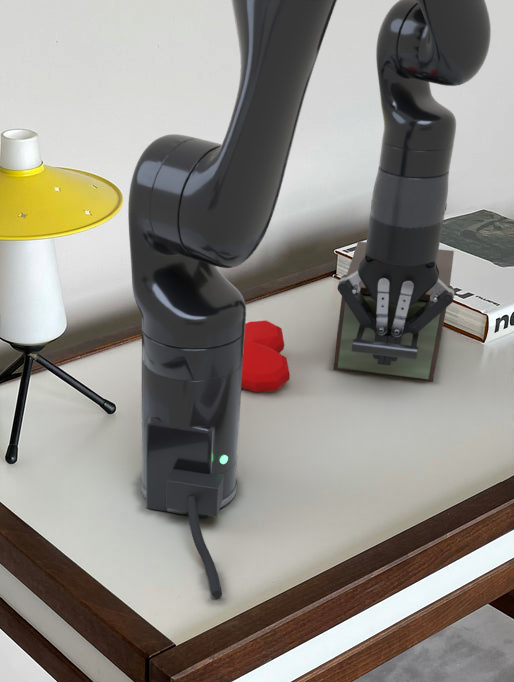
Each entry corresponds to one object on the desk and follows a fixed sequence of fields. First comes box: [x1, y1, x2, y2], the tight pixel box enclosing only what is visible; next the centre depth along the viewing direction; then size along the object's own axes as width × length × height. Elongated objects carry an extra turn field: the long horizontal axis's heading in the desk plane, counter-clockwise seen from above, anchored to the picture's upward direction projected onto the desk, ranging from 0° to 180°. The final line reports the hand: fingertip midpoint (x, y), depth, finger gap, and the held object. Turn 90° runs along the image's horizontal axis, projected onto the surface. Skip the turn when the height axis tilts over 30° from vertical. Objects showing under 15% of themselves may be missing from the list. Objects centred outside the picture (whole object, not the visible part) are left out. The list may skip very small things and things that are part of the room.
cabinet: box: [332, 241, 455, 383], centre depth 122 cm, size 15×12×11 cm
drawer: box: [338, 294, 440, 379], centre depth 118 cm, size 19×10×9 cm, turn 163°
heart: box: [241, 319, 291, 393], centre depth 119 cm, size 12×4×10 cm
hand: (384, 362), depth 115 cm, fingers closed
